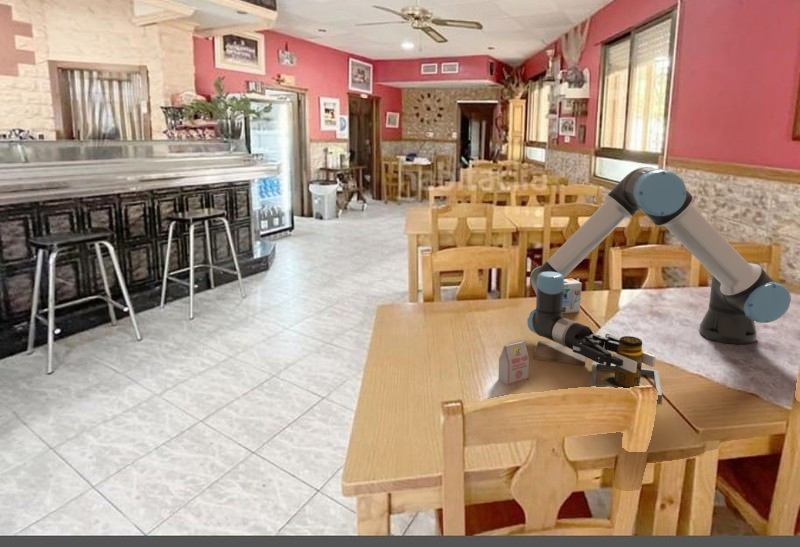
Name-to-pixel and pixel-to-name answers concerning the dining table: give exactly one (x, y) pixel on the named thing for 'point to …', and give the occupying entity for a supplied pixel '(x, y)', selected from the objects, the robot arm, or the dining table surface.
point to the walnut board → (557, 353)
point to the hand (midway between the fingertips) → (644, 364)
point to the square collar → (643, 372)
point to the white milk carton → (514, 363)
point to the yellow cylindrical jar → (623, 377)
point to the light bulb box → (571, 296)
